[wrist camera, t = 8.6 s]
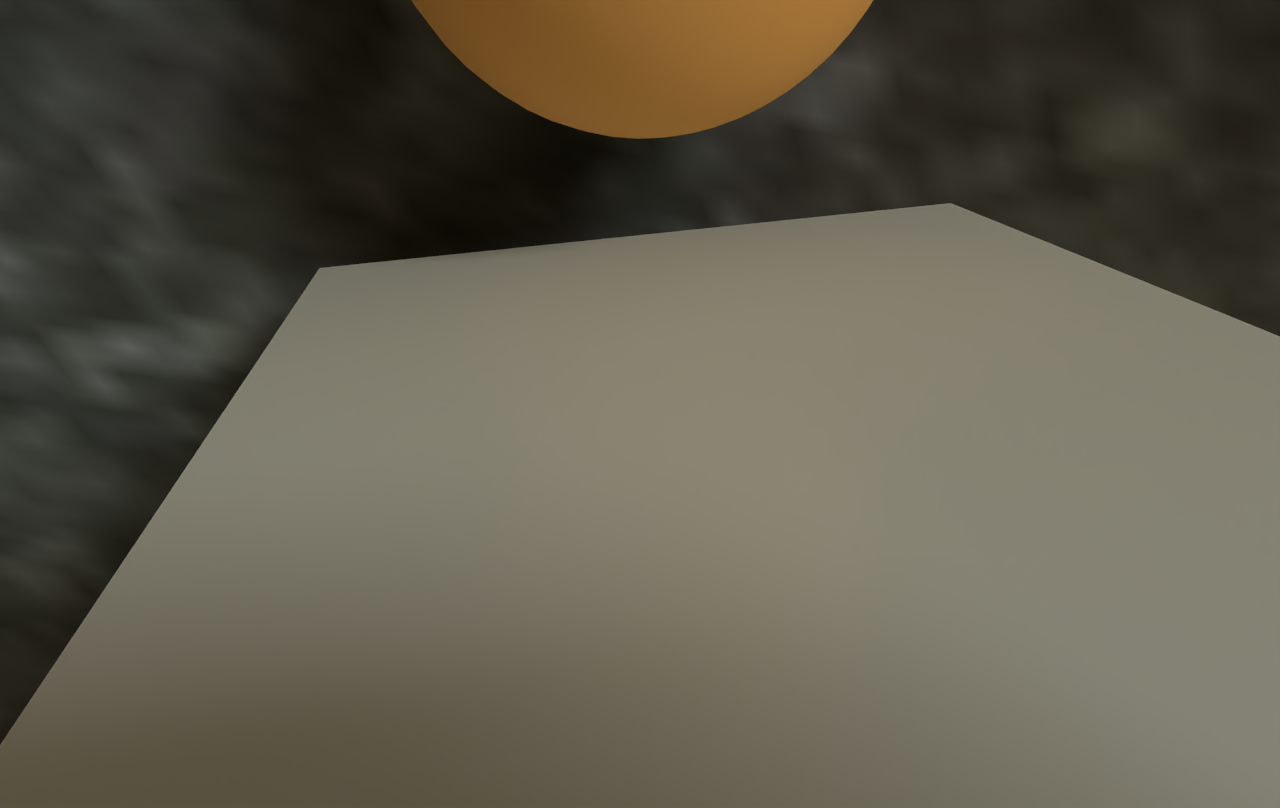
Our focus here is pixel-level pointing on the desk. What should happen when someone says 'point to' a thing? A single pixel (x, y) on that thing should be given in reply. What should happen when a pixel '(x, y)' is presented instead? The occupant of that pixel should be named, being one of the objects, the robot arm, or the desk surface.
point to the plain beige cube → (704, 541)
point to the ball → (642, 56)
